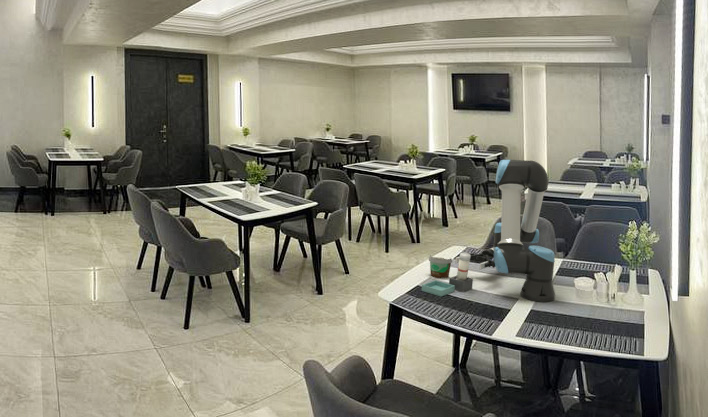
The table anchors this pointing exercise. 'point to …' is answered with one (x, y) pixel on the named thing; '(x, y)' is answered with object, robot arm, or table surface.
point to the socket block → (461, 284)
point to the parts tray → (438, 288)
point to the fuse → (463, 266)
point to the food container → (440, 267)
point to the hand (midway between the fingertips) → (467, 263)
